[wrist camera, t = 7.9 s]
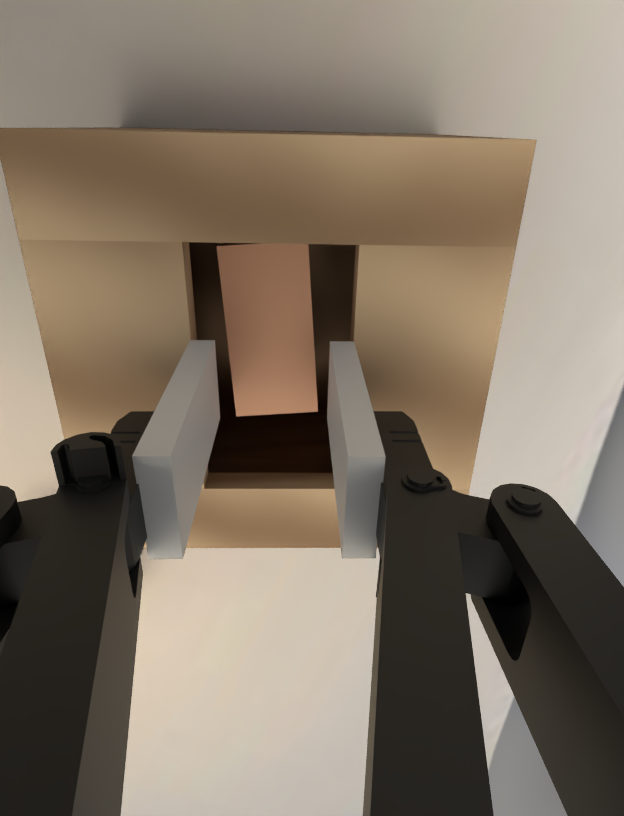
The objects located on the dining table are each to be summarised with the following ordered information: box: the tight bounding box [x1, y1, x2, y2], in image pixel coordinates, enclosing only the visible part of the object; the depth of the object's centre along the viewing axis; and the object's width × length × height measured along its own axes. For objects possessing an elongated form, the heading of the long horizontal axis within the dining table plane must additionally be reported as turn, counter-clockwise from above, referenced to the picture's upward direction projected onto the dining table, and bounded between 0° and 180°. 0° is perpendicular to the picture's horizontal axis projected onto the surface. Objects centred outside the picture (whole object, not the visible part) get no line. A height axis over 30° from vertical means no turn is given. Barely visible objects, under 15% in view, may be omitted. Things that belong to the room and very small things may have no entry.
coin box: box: [0, 128, 537, 548], centre depth 22 cm, size 14×14×11 cm
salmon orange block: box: [217, 243, 318, 416], centre depth 22 cm, size 6×3×8 cm, turn 3°
